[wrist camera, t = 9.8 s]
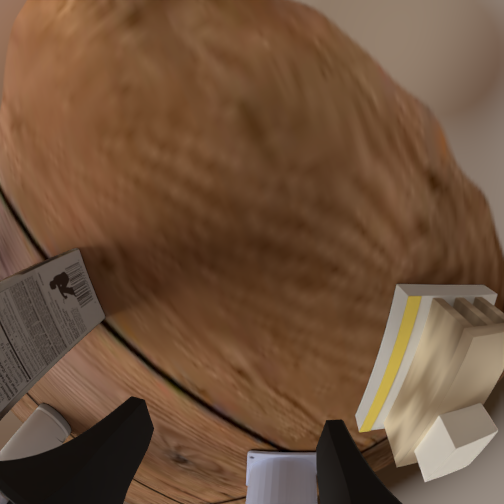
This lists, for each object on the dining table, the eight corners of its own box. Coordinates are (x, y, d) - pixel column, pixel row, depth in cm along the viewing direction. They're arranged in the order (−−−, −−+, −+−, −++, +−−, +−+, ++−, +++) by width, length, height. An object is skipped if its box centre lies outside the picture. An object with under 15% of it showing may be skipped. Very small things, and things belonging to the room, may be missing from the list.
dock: (434, 404, 19) (441, 417, 17) (355, 415, 20) (359, 432, 18) (483, 284, 16) (498, 294, 14) (396, 283, 16) (408, 296, 14)
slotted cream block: (429, 414, 17) (447, 453, 12) (383, 423, 18) (396, 467, 13) (481, 296, 14) (522, 328, 9) (432, 297, 14) (473, 337, 10)
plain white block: (455, 438, 12) (467, 465, 9) (414, 450, 12) (424, 481, 9) (480, 402, 11) (498, 430, 8) (439, 414, 11) (455, 448, 8)
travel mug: (79, 433, 27) (22, 521, 7) (60, 430, 28) (6, 506, 9) (52, 402, 25) (-17, 489, 6) (35, 402, 27) (-27, 476, 7)
